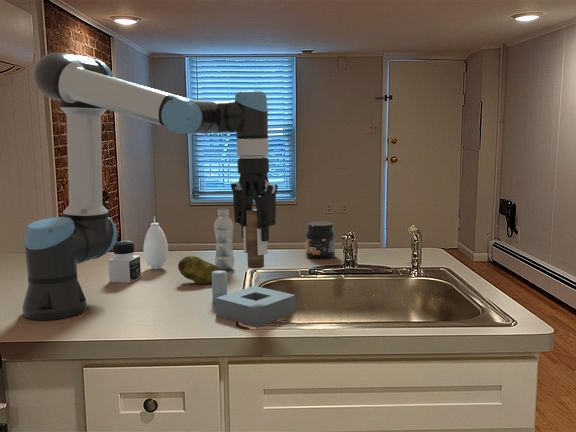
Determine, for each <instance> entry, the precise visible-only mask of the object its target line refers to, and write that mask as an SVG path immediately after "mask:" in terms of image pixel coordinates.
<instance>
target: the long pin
mask: <svg viewBox="0 0 576 432" xmlns="http://www.w3.org/2000/svg"><path fill="white" fill-rule="evenodd" d="M246 222H247V253H246V254H247V268H249V269H255V270H256V269H262V268H265V254H264V255H258V246H257V228H258V227H259V220H258V214H257V209H256V208H254V209H253V208H252V209H250V210H246Z"/></svg>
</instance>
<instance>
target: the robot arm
mask: <svg viewBox="0 0 576 432" xmlns="http://www.w3.org/2000/svg"><path fill="white" fill-rule="evenodd" d="M33 79H34V83H35V86H36V88H37V89H38V90H39V92H40V93H41V94H42V95H43V96H45V97H47V98H49V99H51V100H56V101H59V105H60V106H59V109H60V110H61V111H62V112H64V114H65V116H66V136H67V137H66V138H67V139H66V140H67V141H66V142H67V143H66V144H67V171H68V172H67V174H68V175H67V176H68V178H67V179H68V180H67V181H68V206H67V207H65V209H64V210H63V212H62V214H63V216H56V217H49V218H43V219H39V220H36V221H33V222H31V223H29V224H28V225H27V226H26V228H25V230H24V241H23V245H24V249H25V250H24V251H25V260H26V261H25V262H26V272H27V281H28V282H27V289H26V292H25V297H24V300H23V304H22V316H23V317H24V318H25V319H28V320H33V321H51V320H52V321H54V320H59V319H60V320H61V319H66V318H70V317H74V316H77V315H80V314H82V313H83V312H85V311H86V310H87V298H86V296H85V293H84V291H83V289H82V287H81V284H80V282H79V280H78V266H77V265H79V264H82V263H85V262H87V261H92V260H97V259H99V258H102V257H103V256H105V255H106V254H108V253H109V252H111V251H112V250H113V249H114V248H113V247H114V245H115V243H116V242H117V239H118V230H117V226H116V224H115V223H114V222H113V219H112V218H111V217H109V210H108V209H107V208H106V207H105V206H104V204H103V170H102V169H103V168H102V167H103V162H102V161H103V159H102V158H103V157H102V116H103V114H104V113H105V112H106V111H107V110H108V111H111V112H115V113H118V114H121V115H125V116H128V117H131V118H134V119H137V120H138V119H139V120H142V121H145V122H148V123H152V124H156V125H158V126H161V127H165V128H166V129H167V130H169V132H172V133H175V134H179V135H180V134H181V135H189V134H206V135H207V134H219V133H220V134H223V133H224V134H225V133H236V156H238V157H239V158H238V159H237V162H236V163H237V173H238V174H239V178H238V181H236V182H233V183H231V184H230V187H231V191H232V198H233V199H232V201H233V213H234V214H233V215H234V222H235V223H237V224H239V225H240V227H241V239H242V240H243V241H242V242H243V253H244V254H247V222H246V210H250V209H253V205H254V201H255V209H257V214H258V220H259V227H258V228H257V246H258V255H264V256H265V255H267V254H268V242H269V240H270V230H269V229H270V227H273V226H275V225H276V223H277V222H276V220H277V219H276V217H277V216H276V214H277V212H276V209H277V207H276V206H277V204H276V203H277V199H276V198H277V191H278V188H279V186H278V184H273V183H272V182H269V181H270V180H269V177H268V174H269V172H270V170H269V169H270V162H269V161H270V159H269V157H268V155H269V136H268V135H269V122H268V121H269V120H268V119H269V118H268V115H269V108H268V100H267V99H268V98H267V94H266V93H265V92H264V91H261V90H242V91H237V92H236V93H235V94H234V95H235V97H234V100H225V101H224V100H223V101H222V100H219V101H217V100H216V101H215V100H214V101H212V100H203V99H202V100H201V99H200V100H199V99H192V98H188V97H183V96H180V95H176V94H173V93H169V92H165V91H162V90H159V89H155V88H151V87H148V86H145V85H141V84H138V83H134V82H131V81H127V80H124V79H121V78H117V77H114V74H113V72H112V70H111V69H110V67H109V66H108V65H107V64H106V63H105V62H103V61H101V60H100V59H95V58H93V57H90V56H82V55H76V54H70V53H65V52H58V51H57V52H51V53H48V54H47V53H46V55H43V56H42V57H40V59H39V60H38V61H37V63H36V64H35V66H34V71H33Z"/></svg>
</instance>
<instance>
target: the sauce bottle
mask: <svg viewBox="0 0 576 432" xmlns="http://www.w3.org/2000/svg"><path fill="white" fill-rule="evenodd" d="M168 244H169V243H168V241H167V237H166V235H165V233H164V231H163V229H162V228H161V227H160V223H159V222H156V216H155V215H154V216H153V222H152V223H150V227H149V228H148V229H147V232H146V234H145V236H144V241H143V249H142V250H143V257H144V261H145V263H146V264H147V266H149V267H150V268H151V269H154V270H156V271H157V270H160V269H162V268H163V266H165V265H166V263H167V260H168V258H169V245H168Z"/></svg>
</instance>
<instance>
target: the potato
mask: <svg viewBox="0 0 576 432" xmlns="http://www.w3.org/2000/svg"><path fill="white" fill-rule="evenodd" d="M177 267H178V270H179V272H180V273H181V274H180V275H182V277H184V278H186V279H188V280H191V281H192V282H194V283H197V284H201V285H205V284H212V272H213V271H224V270H222V269H221V268H220V267H218V266H216V265H215V263H214V264H213V263H211V262H208V261H206V260H204V259H202V258H200V257H199V256H193V255H188V256H185V257H184V258H181V260H179V262H178V265H177Z"/></svg>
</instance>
